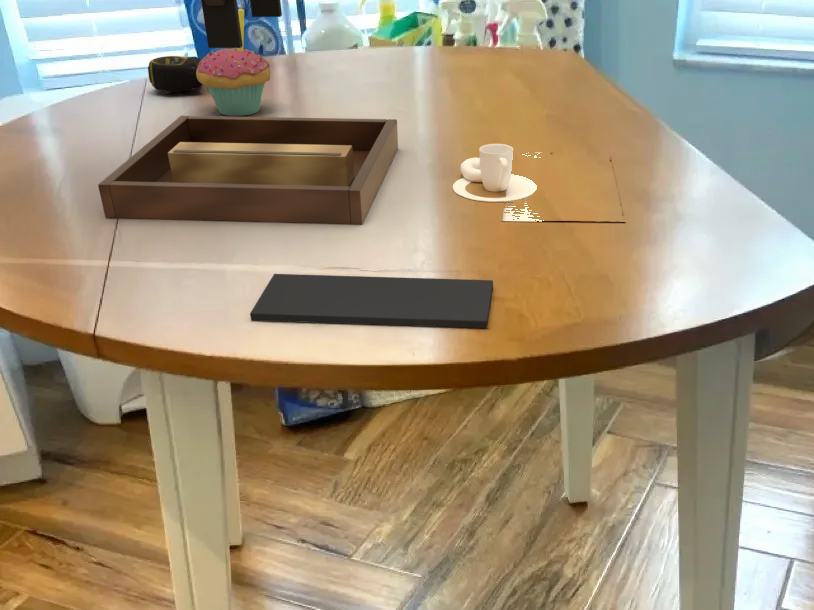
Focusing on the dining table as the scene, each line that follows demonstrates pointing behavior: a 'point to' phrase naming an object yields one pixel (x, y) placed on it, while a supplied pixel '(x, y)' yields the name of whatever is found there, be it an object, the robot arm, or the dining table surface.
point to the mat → (375, 301)
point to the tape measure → (174, 73)
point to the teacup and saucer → (497, 179)
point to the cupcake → (235, 77)
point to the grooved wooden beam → (262, 164)
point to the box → (164, 200)
